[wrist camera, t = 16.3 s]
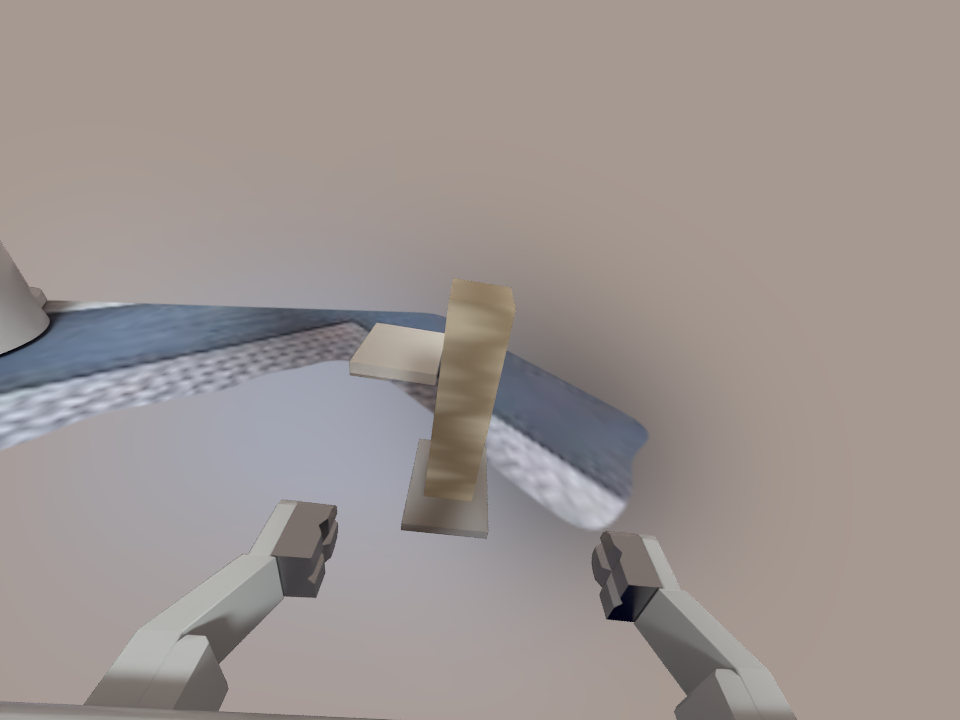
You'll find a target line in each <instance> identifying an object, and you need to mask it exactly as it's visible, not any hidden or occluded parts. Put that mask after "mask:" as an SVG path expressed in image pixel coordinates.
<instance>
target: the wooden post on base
mask: <svg viewBox="0 0 960 720" xmlns="http://www.w3.org/2000/svg"><path fill="white" fill-rule="evenodd" d="M515 310H516V307H515V303H514V299H513V295H512V291H511V288H510V287H504V286H498V285H492V284H486V283H480V282H473V281H466V280H461V279H455V278H454V279H453V283H452V288H451V293H450V298H449V305H448V313H447V320H446V328H445V336H444V344H443V351H442V359H441V367H440V375H439V382H438V390H437V398H436V406H435V413H434V422H433V429H432V437H431V440H424V439H419V443H418V448H417V452H416V457H415V462H414V467H413V472H412V476H411V481H410V486H409V490H408V495H407V500H406V504H405V509H404V515H403V519H402V524H401V530H406V531H416V532H425V533H435V534H445V535H455V536H466V537H475V538H485V539H486V538H487V535H488V508H487V506H488V504H487V463H486V447H484V446H485V441H486V437H487V433H488V428H489V424H490V420H491V415H492V411H493V406H494V402H495V398H496V393H497V389H498V385H499V380H500V376H501V371H502V367H503V363H504V358H505V354H506V350H507V345H508V340H509V337H510V332H511V328H512V323H513V319H514V315H515Z"/></svg>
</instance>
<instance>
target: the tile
mask: <svg viewBox="0 0 960 720" xmlns="http://www.w3.org/2000/svg"><path fill="white" fill-rule="evenodd" d="M444 336H445V333H438V332H432V331H426V330H420V329H413V328H407V327H401V326H394V325H388V324H382V323H376V324H375V326H374V327H373V329H372V330H371V332H370V333H369V334H368V336H367V337H366V339H365V340H364V342H363V343H362V344H361V346H360V347H359V349H358V350H357V351H356V353H355V354H354V356H353V357H352V359H351V360H350V361H349V366H350V367H349V368H350V375H351V376H358V377H364V378H371V379H378V380H384V381H388V380H387V379H386V378H389V379H395V380H402V381H408V382H415V383H422V384H428V385H435V383H436V379H437V375H438V371H439V367H440V363H441V359H442V351H443V344H444Z"/></svg>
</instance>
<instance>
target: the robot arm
mask: <svg viewBox="0 0 960 720" xmlns="http://www.w3.org/2000/svg"><path fill="white" fill-rule="evenodd" d="M46 301H47V298H46V297H45V295H44V293H43V292H42V290H40V289H39V288H34V287H29V286H28V284H27V282H26V281H25V279H24V277H23V276H22V274H21V273H20V271H19V269H18V268H17V266H16V265H15V263H14V262H13V260H12V258H11V257H10V255H9V253H8V252H7V250H6V249H5V247H4V246H3V244H2V242H1V241H0V354H2V353H4V352H7V351H9V350H12V349H14V348H17V347H19V346H21V345H23V344H25V343H27V342H29V341H31V340H32V339H34V338H36V337H37V336H38V335H40V334H41V333H42V332H43V331H44V330H45V329H46V328H47V327H48V325H49V322H50V321H49V317H48V315H47V314H46V313H45V312H44V311H43V310H42V307H43V305H44V304H45V303H46ZM336 515H337V507H336V506H335V505H325V504H317V503H309V502H308V503H307V502H300V501H291V500H281V501H280V502H279V503H278V504H277V506H276V507H275V509H274V511H273V512H272V514H271V516H270V517H269V519H268V521H267V523H266V525H265V526H264V528H263V529H262V531H261V533H260V535H259V536H258V538H257V540H256V542H255V543H254V545H253V547H252V548H251V550H250V552H249V554H242V555H240V556H239V557H237V558H236V559H235V560H233V561H232V562H231V563H229V564H228V565H226V566H225V567H224V568H222V569H221V570H220V571H218V572H217V573H215V574H214V575H213V576H211V577H210V578H208V579H207V580H206V581H204V582H203V583H202V584H200V585H199V586H198V587H196V588H195V589H193V590H192V591H191V592H189V593H188V594H186V595H185V596H184V597H182V598H181V599H180V600H178V601H177V602H175V603H174V604H173V605H171V606H170V607H168V608H167V609H166V610H164V611H163V612H162V613H160V614H159V615H157V616H156V617H155V618H153V619H152V620H150V621H149V622H148V623H146V624H145V625H144V626H142V627H141V628H139V629H138V630H137V632H136V633H135V635H134V636H133V637H132V639H131V640H130V641H129V643H128V644H127V646H126V647H125V649H124V650H123V651H122V652H121V654H120V655H119V657H118V658H117V659H116V661H115V662H114V663H113V665H112V666H111V668H110V669H109V670H108V672H107V673H106V675H105V676H104V677H103V679H102V680H101V681H100V683H99V684H98V686H97V687H96V688H95V690H94V691H93V692H92V694H91V695H90V697H89V698H88V699H87V701H86V702H85V704H84V705H68V704H67V705H66V704H47V703H24V702H23V703H22V702H1V701H0V720H385V719H365V718H344V717H323V716H300V715H279V714H259V713H238V712H237V713H236V712H218V711H219V708H220V706H221V704H222V702H223V700H224V697H225V695H226V693H227V691H228V686H227V682H226V680H225V677H224V675H223V673H222V671H221V668H220V666H219V663H220V662H221V661H222V660H223V659H224V658H225V657H226V656H227V655H228V654H229V653H230V652H231V651H232V650H233V649H234V648H235V647H236V646H237V645H238V644H239V643H240V642H241V641H242V640H243V639H244V638H245V637H246V636H247V635H248V634H249V633H250V632H251V631H252V630H253V629H254V628H255V627H256V626H257V625H258V624H259V623H260V622H261V621H262V620H263V619H264V618H265V617H266V616H267V615H268V614H269V613H270V612H271V611H272V610H273V609H274V608H275V607H276V606H277V605H278V603H279V602H281V600H283V598H284V597H283V596H290V597H291V596H292V597H314V598H316V596H317V594H318V591H319V588H320V585H321V583H322V580H323V577H324V575H325V565H324V563H325V562H326V561H327V560H328V559H329V558H331V556H332V553H333V550H334V547H335V543H336V539H337V533H338V523H337V522H336V521H335V517H336ZM600 539H601V542H602V543H601V544H600V545H598V546H596V547H595V549H594V551H593V554H592V569H593V574H594V577H595V580H596V581H597V582H598V583H599V584H600V586H601V587H602V589H601V592H600V599H601V602H602V606H603V609H604V612H605V616H606V619H609V620H618V621H627V622H635V623H634V625H635V626H636V627H637V629H638V630H639V631H640V633H641V634H642V635H643V637H644V638H645V640H646V641H647V642H648V643H649V645H650V646H651V648H652V649H653V650H654V652H655V653H656V654H657V656H658V657H659V658H660V660H661V661H662V662H663V664H664V665H665V667H666V668H667V669H668V671H669V672H670V673H671V675H672V676H673V677H674V679H675V680H676V681H677V683H678V684H679V685H680V687H681V688H682V689H683V691H684V692H685V693H686V695H687V697H686V698H685V699H684V700H683V701H682V702H681V703H680V704H678V705H677V707H676V709H675V711H674V713H675V715H676V718H677V720H797V719H796V717H795V715H794V713H793V712H792V710H791V708H790V706H789V704H788V703H787V701H786V699H785V697H784V696H783V694H782V692H781V691H780V689H779V687H778V685H777V684H776V682H775V680H774V678H773V677H772V675H771V673H770V671H769V670H768V669H767V668H766V667H765V666H764V665H763V664H761V663H760V661H758V660H757V659H756V658H755V657H754V656H753V655H752V654H751V653H750V652H749V651H748V650H747V649H746V648H745V647H744V646H743V645H742V644H741V643H740V642H739V641H738V640H737V639H735V638H734V636H732V635H731V634H730V633H729V632H728V631H727V630H726V629H725V628H724V627H723V626H722V625H721V624H720V623H719V622H718V621H717V620H716V619H715V618H714V617H713V616H712V615H711V614H710V613H709V612H708V611H707V610H705V609H704V608H703V607H702V606H701V605H700V604H699V603H698V602H697V601H696V600H695V599H694V598H693V597H692V596H691V595H690V594H689V593H688V592H687V591H683V590H681V589H680V586H679V584H678V582H677V580H676V578H675V576H674V574H673V572H672V570H671V568H670V566H669V564H668V562H667V559H666V557H665V555H664V553H663V551H662V549H661V547H660V545H659V543H658V541H657V539H656V538H655V537H654V536H652V535H642V534H635V533H625V532H612V531H605V532H603V534H602V535H601V537H600Z"/></svg>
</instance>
